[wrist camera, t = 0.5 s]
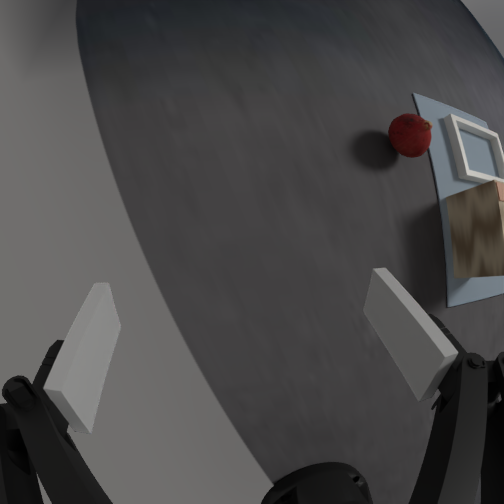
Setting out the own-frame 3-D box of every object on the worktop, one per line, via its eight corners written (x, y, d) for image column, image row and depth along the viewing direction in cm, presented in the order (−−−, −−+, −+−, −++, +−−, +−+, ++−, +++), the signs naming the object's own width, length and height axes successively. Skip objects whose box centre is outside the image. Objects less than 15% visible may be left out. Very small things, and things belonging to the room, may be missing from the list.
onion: (372, 147, 36) (407, 121, 28) (384, 120, 37) (416, 93, 29) (404, 172, 36) (442, 152, 29) (414, 144, 37) (448, 123, 30)
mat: (513, 290, 40) (514, 290, 39) (447, 307, 36) (448, 307, 35) (485, 122, 43) (486, 122, 42) (412, 93, 39) (413, 92, 38)
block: (472, 275, 37) (522, 272, 27) (454, 278, 36) (507, 275, 26) (464, 199, 38) (511, 183, 28) (445, 197, 37) (495, 179, 27)
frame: (504, 188, 41) (511, 186, 39) (458, 178, 38) (467, 174, 36) (490, 137, 42) (497, 133, 40) (443, 118, 39) (450, 113, 37)
